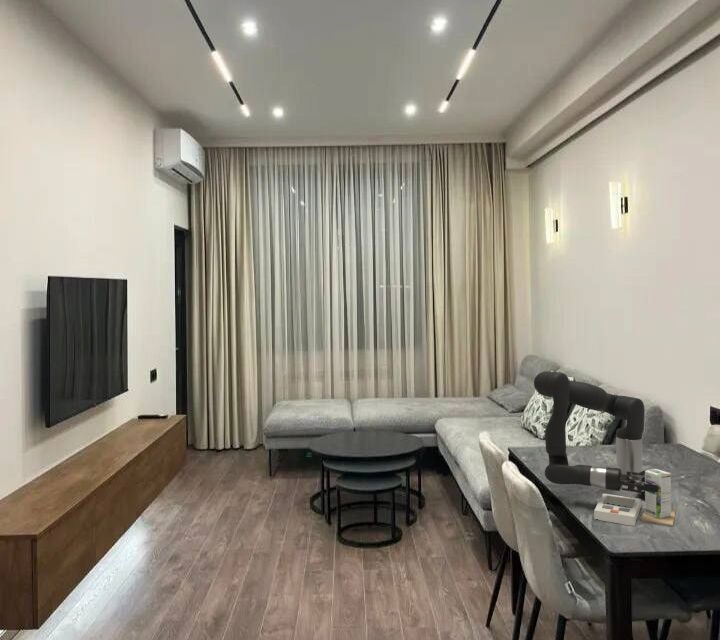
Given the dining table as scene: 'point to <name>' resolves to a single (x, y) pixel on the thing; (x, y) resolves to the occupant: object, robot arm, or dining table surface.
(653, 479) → the syrup box
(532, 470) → the dining table surface
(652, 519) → the cork mat
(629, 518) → the socket strip
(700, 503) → the dining table surface
